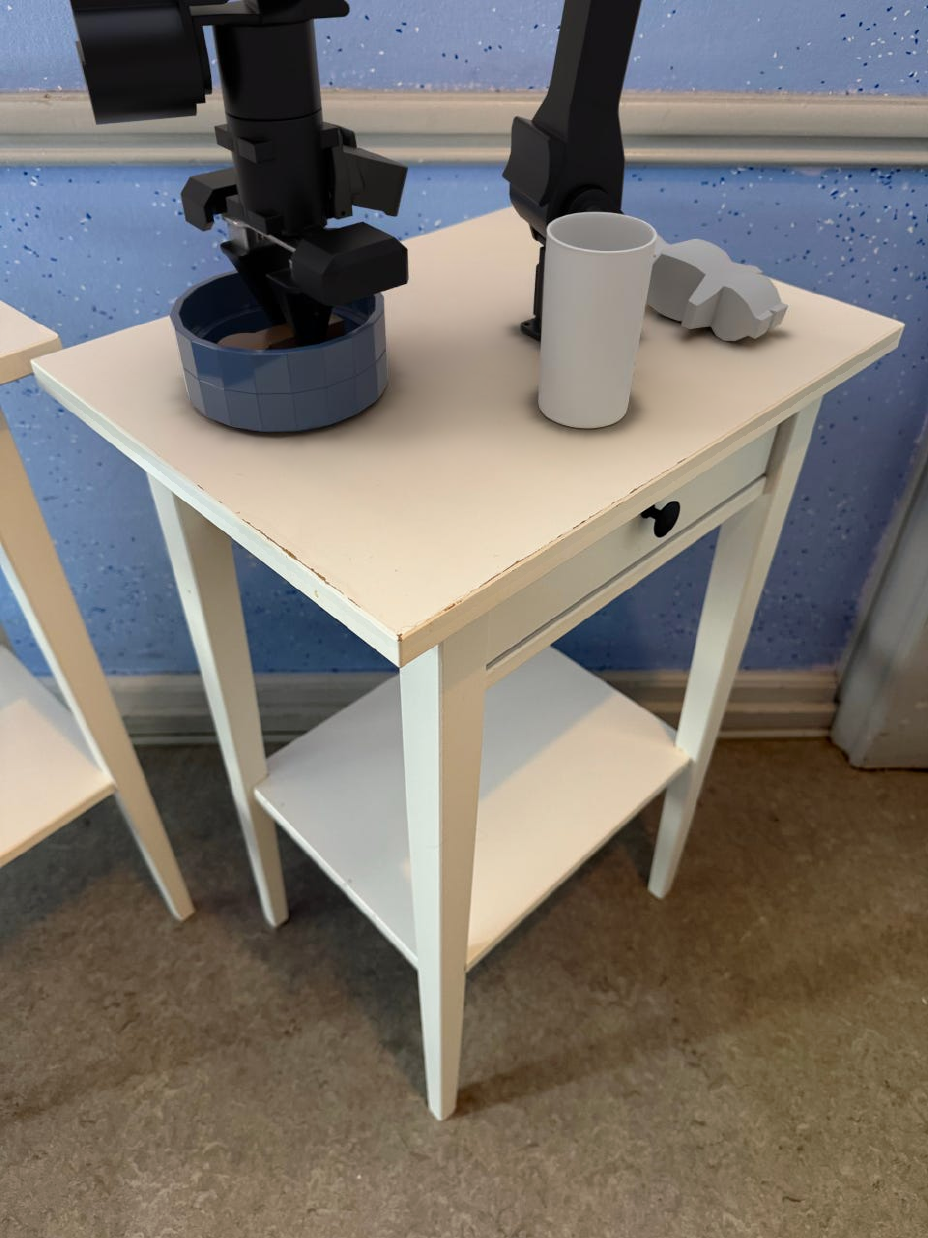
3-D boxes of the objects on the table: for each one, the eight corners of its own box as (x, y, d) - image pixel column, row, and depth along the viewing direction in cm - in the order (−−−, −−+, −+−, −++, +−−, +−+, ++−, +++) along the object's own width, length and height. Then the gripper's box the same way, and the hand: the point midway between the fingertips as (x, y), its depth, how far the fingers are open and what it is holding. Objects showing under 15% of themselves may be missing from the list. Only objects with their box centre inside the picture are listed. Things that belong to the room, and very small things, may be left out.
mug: (597, 442, 60) (620, 261, 52) (515, 409, 63) (524, 233, 55) (671, 385, 66) (702, 213, 58) (592, 357, 69) (611, 191, 61)
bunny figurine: (748, 312, 66) (590, 232, 72) (726, 373, 70) (578, 292, 76) (814, 275, 71) (661, 203, 77) (790, 334, 75) (647, 261, 81)
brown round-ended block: (353, 362, 66) (350, 322, 64) (239, 403, 61) (232, 362, 59) (325, 344, 68) (321, 305, 66) (213, 382, 63) (205, 342, 61)
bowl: (427, 393, 65) (426, 312, 61) (252, 461, 58) (237, 376, 54) (318, 324, 73) (311, 248, 69) (153, 377, 66) (134, 297, 62)
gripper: (478, 118, 53) (474, 367, 63) (304, 59, 63) (326, 281, 74) (315, 155, 47) (340, 419, 58) (155, 84, 58) (202, 319, 69)
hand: (303, 352), depth 65 cm, fingers closed on brown round-ended block, 2 cm apart
